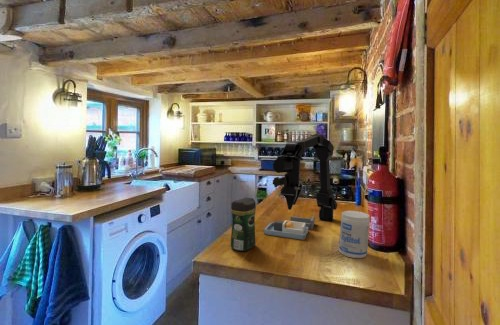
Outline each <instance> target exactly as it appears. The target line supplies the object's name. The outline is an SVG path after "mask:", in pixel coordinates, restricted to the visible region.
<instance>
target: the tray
mask: <svg viewBox="0 0 500 325" xmlns="http://www.w3.org/2000/svg"><path fill="white" fill-rule="evenodd" d="M308 232H309V229H308V227H305V232H304V234H296V233H288V232H282V231H278V230H274V222H270V223H268V224H267V226H265V228H264V229H263V234H264V235H268V236H275V237H281V238H288V239H295V240H302V241H304V240H305V239H306V237H307V235H308Z"/></svg>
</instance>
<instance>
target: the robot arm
mask: <svg viewBox="0 0 500 325" xmlns="http://www.w3.org/2000/svg"><path fill="white" fill-rule="evenodd" d="M334 147H335V146H334V144H332V142H331V141H330V140H329V139H326V137H324V135H321V134H313V135H311V136H309V137H308V136H307V137H305V138H304V139H301V140H293V141H292V140H291V141H287V142H286V143H285V145H284V147H283V149H282V150H281V152H280V155H277V157H276V159H275V160H273V164H272V166H273V170H274V172H276V173H279V174H280V173H281V174H282V173H284V176H282V177H279V176H277V177H274V178H273V180H272V185H273V186H274V188H277V187H280V186H282V187H281V188H280V194H281V195H282V196H283V197H284V198H285V200H286V206H287V209H288V210H292V208H293V206H295V205H296V204H297V201H298V199H299V198H300V196H301V192H302V191H303V188H304V184H303V182H302V181H300V178H301V175H302V173H301V161H303V160H304V158H303V157H302V155H303V154H304V153H305V152H306V150H307V149H310V148H313V150H314V151H315V156H316V157H317V159H318V161H319V162H318V163H319V190H318V191H317V192H316V194H315V195H316V199H315V200H316V204H317V205H316V206H317V207H318V208H320V209H319V211H318V218H319V221H326V222H333V221H334V210H337V208H338V203H337V201H336V199H335V193H334V192H333V191H332V188H331V164H330V163H331V162H330V161H331V159H332V158H333V155H334V151H335V150H334V149H335V148H334Z"/></svg>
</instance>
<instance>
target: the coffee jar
mask: <svg viewBox="0 0 500 325" xmlns="http://www.w3.org/2000/svg"><path fill="white" fill-rule="evenodd" d="M256 208H257V205H256V200H255V199H254V198H253V197H248V196H246V197H245V196H244V197H243V198H238V199H237V200H233V201H232V202H231V203H230V211H231V233H230V248H231V249H232V250H234V251H237V252H247V251H249V250H251V249H252V248H254V247H255V245H256V221H255V220H256V219H255V218H256V217H255V216H256Z"/></svg>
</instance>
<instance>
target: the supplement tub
mask: <svg viewBox="0 0 500 325" xmlns="http://www.w3.org/2000/svg"><path fill="white" fill-rule="evenodd" d="M370 218H371V217H370V215H369V214H368V213H366V212H363V211H362V212H361V211H358V210H345V211H342V212H341V218H340V230H339V242H338V251H339V252H340V254H342V255H343V256H345V257H348V258H351V259H363V258H366V256H367V255H368V245H369V234H370V223H371V222H370V220H371V219H370Z"/></svg>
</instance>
